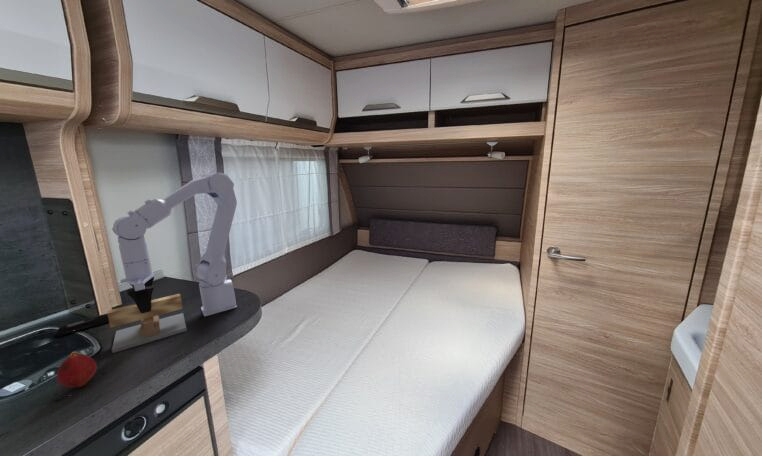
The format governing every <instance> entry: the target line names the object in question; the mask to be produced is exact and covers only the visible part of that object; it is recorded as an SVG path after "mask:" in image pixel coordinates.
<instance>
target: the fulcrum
mask: <svg viewBox="0 0 762 456" xmlns="http://www.w3.org/2000/svg"><path fill="white" fill-rule="evenodd" d="M140 322H141V323H140V324H136V325H133V326H130V327H125V328H121V329H119V330H116V331H115V335H114V338H113V342H112V343H113V344H112V348H111V353H112V354H114V353H118V352H121V351H124V350H128V349H131V348H135V347H138V346H142V345H144V344H149V343H151V342H155V341H157V340H161V339H164V338H167V337H171V336H174V335H177V334H181V333H184V332H187V331H188V329H187V325H186V321H185V316H184V313H183V312H181V313H178V314H173V315H169V316H166V317H163V318H160V315H157V316H153V317H149V318H146V319H142V320H140Z"/></svg>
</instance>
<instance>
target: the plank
mask: <svg viewBox="0 0 762 456" xmlns="http://www.w3.org/2000/svg"><path fill="white" fill-rule="evenodd" d="M182 302H183V301H182V297H181V294H180V293H176V294H171V295H168V296H164V297H159V298H154V299H151V311H150V312H146V313H141V312H140V311H139V309H138V307H137V305H136V303H134V304H129V305H125V306H121V307H117V308H113V309H108V311H107V313H106V314H107V315H108V319H109V322H108V323H109V327H110V328H114V327H119V326H122V325H126V324H130V323H134V322H137V321H141V320H142V319H146V318H149V317H153V316H157V315H159V316H160V315H163V314H167V313H173V312H175V311H176V312H177V311H180V310H183V309H184V308H183V303H182Z"/></svg>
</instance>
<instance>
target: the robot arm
mask: <svg viewBox="0 0 762 456" xmlns="http://www.w3.org/2000/svg"><path fill="white" fill-rule="evenodd" d="M234 185H235V184H234V182H233V181H232V179H231V178H230V176H229V175H228V174H226V173H224V172H215V173H204V174H202V175H201V176H199V177H195V178H193V179H192V180H190V181H188V182H187V183H185V184H184V185H183V186H181V187H180V188H178V189H177V190H175V191H173V192H172V193H171V194H169V195H167V196H165V197H164V198H163V199H160V198H153V199H147V200H145V201H144V204H143V205H142V206H140V207H138V208H136V209H135V210H133V211H132V210H129V211H127V215H126V216H121V217H118V218H117V219H116V220H115V221H114V223H113V225H112V229H111V230H112V232H113V233H114V235H116V236H117V243H118V244H119V245H118V248H119V254H120V258H121V263H122V266H123V271H124V275H125V277H123V278H121V279H120V283H123V284H124V283H128V284H129V285H130V286H131V287H132V288H129V289H126V294H127V295H128V296H129V297H130V298H131V299H132V300H133V301H134V304H136V305H137V307H138V309H139V311H140V312H141V313H146V312H150V311H151V300H153V299H152V298H153V297H152V295H153V292H154V289H155V285H154V284H153V282H154V280H155V274H154V272H153V269H152V264H151V260H150V256H149V250H148V245H147V242H146V239H145V234H146V232H147V229H151V228H152V227H154V226H155V225H157V224H159V223H160V222H162V221H163V220H165V219H166V218H168V217H169V216H171V214H172V213H171V212H172V209H173V208H174V207H177V206H178V205H180V204H181V203H183V202H185V201H187V200H189V199H190V198H192V197H194V196H195V195H197V194H207V195H209V196H210V197H211V198H212V199H213V201H214V202H215V203H216V204H217V207H216V210H215V215H214V219H213V221H212V222H213V223H212V226H211V230H210V232H209V233H210V234H209V238H208V242H207V245H206V249H205V252H204V253H203V254H202V255H201V257H200V260H199V262H198V263H197V264H196V266H195V267H194V271H193V272H194V276H195V277H196V278H197V279H199V283H198V287H199V292H200V298H201V304H202V306H201V307H200V309H201V312H202V315H203V317H208V316H212V315H215V314H219V313H222V312H225V311H226V312H227V311H229V310H232V309H236V308H237V307H238V306H237V302H236V295H235V294H236V293H235V287H234V283H233V281H232V279H231V278H230V279H226V277H227V270H226V266H227V261H226V257H225V252H226V249H227V245H228V240H229V236H230V233H231V228H232V225H233V221H234V217H235V212H236V209H237V205H238V201H237V197H236V193H235V190H234Z"/></svg>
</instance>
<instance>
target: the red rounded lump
mask: <svg viewBox="0 0 762 456" xmlns="http://www.w3.org/2000/svg"><path fill="white" fill-rule="evenodd" d="M97 364H98V363H96V361H95V360H94V358H92V357H91V356H89V355H85V354H79V352H78V351H76V350H75V351H72V352H71V354H69V355H68V357H67V358H66V359H65V360H64V361H63V362H62V363H61V365H60V366H59V367H58V369H57V373H56V377H57V378H56V379H57V381H58V383H59V385H61V386H63V387H67V388H83V387H84V386H86V384H87V383H88V381H90V380H91V379H92V378H93V376H94V375H95V373H96V372H97V370H98V369H97V368H98V367H97Z"/></svg>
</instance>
